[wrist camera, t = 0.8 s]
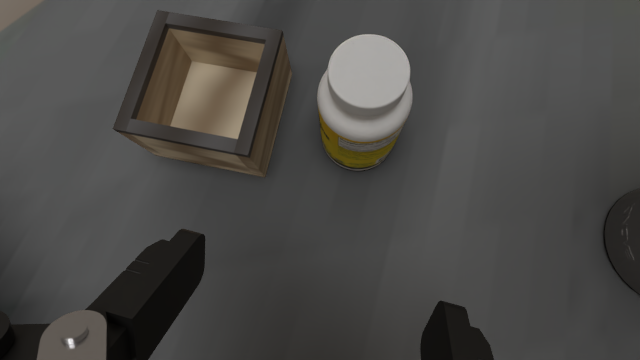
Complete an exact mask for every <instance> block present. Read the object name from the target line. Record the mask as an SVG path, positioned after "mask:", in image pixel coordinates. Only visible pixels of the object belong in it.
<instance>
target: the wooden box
mask: <svg viewBox="0 0 640 360" xmlns="http://www.w3.org/2000/svg"><path fill="white" fill-rule="evenodd" d="M291 76H292V72H291V67H290V63H289V58H288V54H287V49H286V45H285V41H284V36H283V32H282V30H277V29H271V28H264V27H258V26H252V25H246V24H240V23H233V22H227V21H221V20H215V19H209V18H202V17H196V16H190V15H184V14H178V13H171V12H165V11H159V10H157V12H156V15H155V18H154V20H153V23H152V26H151V28H150V31H149V34H148V36H147V39H146V42H145V44H144V47H143V50H142V52H141V55H140V58H139V60H138V63H137V66H136V68H135V71H134V74H133V76H132V79H131V82H130V84H129V87H128V90H127V92H126V95H125V98H124V100H123V103H122V106H121V108H120V111H119V114H118V116H117V119H116V122H115V124H114V127H113V129H114V130H115V131H117V132H119V133H120V134H122V135H124V136H125V137H127V138H128V139H130V140H132V141H133V142H135V143H137V144H138V145H140V146H142V147H143V148H145V149H146V150H148V151H150V152H151V153H153V154H155V155H157V156H162V157H167V158H172V159H177V160H182V161H187V162H192V163H196V164H201V165H206V166H211V167H216V168H221V169H226V170H231V171H236V172H241V173H246V174H251V175H256V176H261V177H265V176H266V172H267V169H268V165H269V161H270V157H271V153H272V149H273V145H274V142H275V138H276V134H277V130H278V126H279V122H280V118H281V115H282V111H283V107H284V103H285V99H286V95H287V91H288V88H289V84H290V80H291Z"/></svg>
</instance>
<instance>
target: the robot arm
mask: <svg viewBox="0 0 640 360" xmlns="http://www.w3.org/2000/svg"><path fill="white" fill-rule="evenodd" d="M605 244H606V248H607V251H608V255H609V258H610V260H611V262H612V264H613V266H614V268H615V269H616V271H617V272H618V274H619V275H620V276H621V277H622V279H623V280H624V281H625V282H626V283H627V284H628V285H629V286H630V287H631V288H632V289H634V290H635V291H636V292H637V293H639V294H640V189H636V190H634V191H632V192H630V193H628V194H626V195H624V196H623V197H622V198H621V199H619V200H618V201H617V202H616V204H615V205H614V206H613V208H612V209H611V210H610V213H609V215H608V218H607V220H606V226H605ZM204 266H205V236H204V234H200V233H197V232H193V231H189V230H186V229H181V230H179V231H178V232H177V233H176V235H175V236H174V237H173V238H172V239H171V240H170V241H166V240H163V239H162V240H160V241H158V242H156V243H154V244H152V245H150V246H148V247H147V248H146V249H145V250H144V251H143V252H142V253H141V254H140V255H139V256H138V257H137V258H136V259H135V261H133V262H132V263H131V264H130V265H129V266H128V267H127V268H126V270H125V271H123V272H122V273H121V274H120V275H119V276H118V277H117V278H116V279H115V280H114V281H113V282H112V283H111V284H110V285H109V286H108V287H107V288H106V289H105V290H104V291H103V293H102V294H101V295H100V296H99V297H98V298H97V299H96V300H95V301H94V302H93V303H92V304H91V305H90V306H89V307H88V308H86V309H85V310H81V311H75V312H72V313H69V314H66V315H64V316H62V317H60V318H59V319H57V320H55V321H54V322H53V323H52V324H23V325H11V323H10V320H9V318H8V316H7V315H6V314H5V313H3V312H1V311H0V360H148V359H149V357H150V356H151V354H152V353H153V351H154V350H155V348H156V347H157V346H158V344H159V343H160V341H161V340H162V338H163V337H164V335H165V334H166V332H167V331H168V329H169V328H170V326H171V325H172V323H173V322H174V320H175V319H176V317H177V316H178V314H179V313H180V311H181V310H182V308H183V307H184V305H185V304H186V302H187V301H188V300H189V298H190V297H191V295H192V294H193V292H194V291H195V289H196V288H197V286H198V285H199V283H200V281H201V278H202V276H203V272H204ZM420 349H421V360H494V359H493V355H492V351H491V348H490V345H489V343H488V342H487V340H486V339H485V337H484V335H483V334H482V332H481V331H480V329H478V328H475V327H471V326H470V323H469V319H468V314H467V311H466V309H465V307H462V306H459V305H455V304H451V303H448V302H444V301H439V302H438V304H437V305H436V307H435V309H434V311H433V313H432V315H431V317H430V319H429V321H428V323H427V325H426V327H425V329H424V331H423V334H422V338H421V348H420Z"/></svg>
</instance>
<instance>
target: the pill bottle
mask: <svg viewBox="0 0 640 360" xmlns="http://www.w3.org/2000/svg"><path fill="white" fill-rule="evenodd" d="M409 79H410V65H409V61H408V58H407V56H406V54H405V53H404V51H403V50H402V49H401V48H400V47H399V46H398V45H397V44H396V43H395V42H393V41H392V40H390V39H388V38H386V37H383V36H380V35H373V34H364V35H358V36H355V37H352V38H350V39H348V40H346V41H345V42H343V43H342V44H341V45H339V46H338V47H337V49H336V50H335V51H334V53H333V54H332V56H331V58H330V61H329V64H328V69H327V70H326V72H325V73H324V75H323V77H322V79H321V81H320V84H319V87H318V93H317V103H318V111H319V119H320V128H321V137H322V143H323V146H324V149H325V151H326V153H327V154H328V156H329V157H330V158H331V159H332V160H333V161H334V162H335V163H336V164H338V165H339V166H341V167H344V168H346V169H350V170H358V171H359V170H367V169H370V168H373V167H375V166H377V165H379V164H380V163H381V162H382V161H384V160H385V158H386V157H387V156H388V155H389V153H390V152H391V150H392V148H393V146H394V144H395V142H396V140H397V138H398V136H399V134H400V132H401V130H402V128H403V126H404V124H405V122H406V120H407V117H408V115H409V113H410V109H411V106H412V87H411V84H410V81H409Z"/></svg>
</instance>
